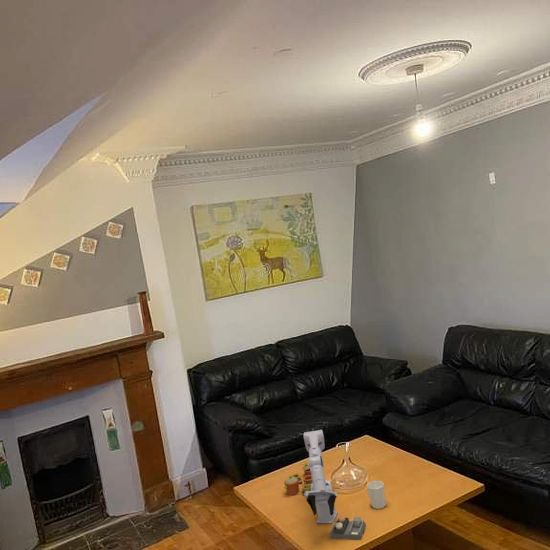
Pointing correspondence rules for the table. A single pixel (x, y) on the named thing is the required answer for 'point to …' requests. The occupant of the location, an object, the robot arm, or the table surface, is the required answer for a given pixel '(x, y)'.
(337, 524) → the cream button
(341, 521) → the terracotta button
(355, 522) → the slider knob
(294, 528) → the table surface
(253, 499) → the table surface
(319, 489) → the robot arm
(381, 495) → the white cup
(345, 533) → the control panel
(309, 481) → the potted succulent plants
